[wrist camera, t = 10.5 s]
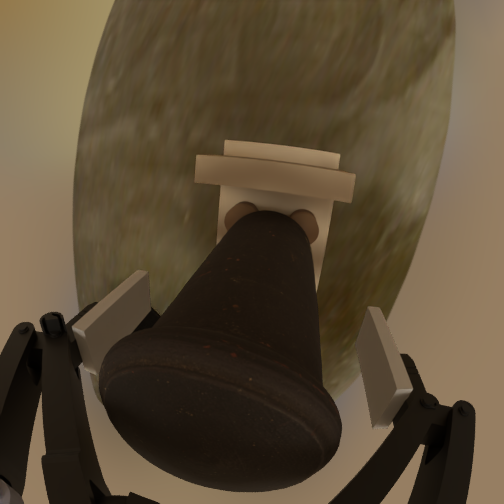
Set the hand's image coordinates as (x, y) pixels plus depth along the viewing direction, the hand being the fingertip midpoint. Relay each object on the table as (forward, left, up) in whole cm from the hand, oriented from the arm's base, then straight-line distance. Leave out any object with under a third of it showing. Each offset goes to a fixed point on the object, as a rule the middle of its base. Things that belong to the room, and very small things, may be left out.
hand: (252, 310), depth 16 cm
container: (0, 0, -10) cm, 11 cm away
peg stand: (0, 0, -14) cm, 14 cm away
